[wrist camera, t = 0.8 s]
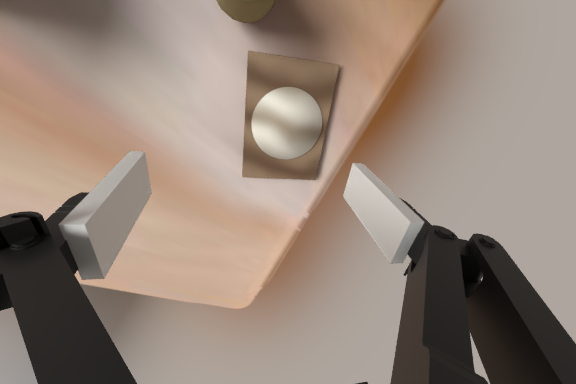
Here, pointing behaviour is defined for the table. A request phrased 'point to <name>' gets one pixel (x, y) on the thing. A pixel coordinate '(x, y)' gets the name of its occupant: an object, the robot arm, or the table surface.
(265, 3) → the squeeze bottle
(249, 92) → the walnut board
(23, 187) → the table surface
